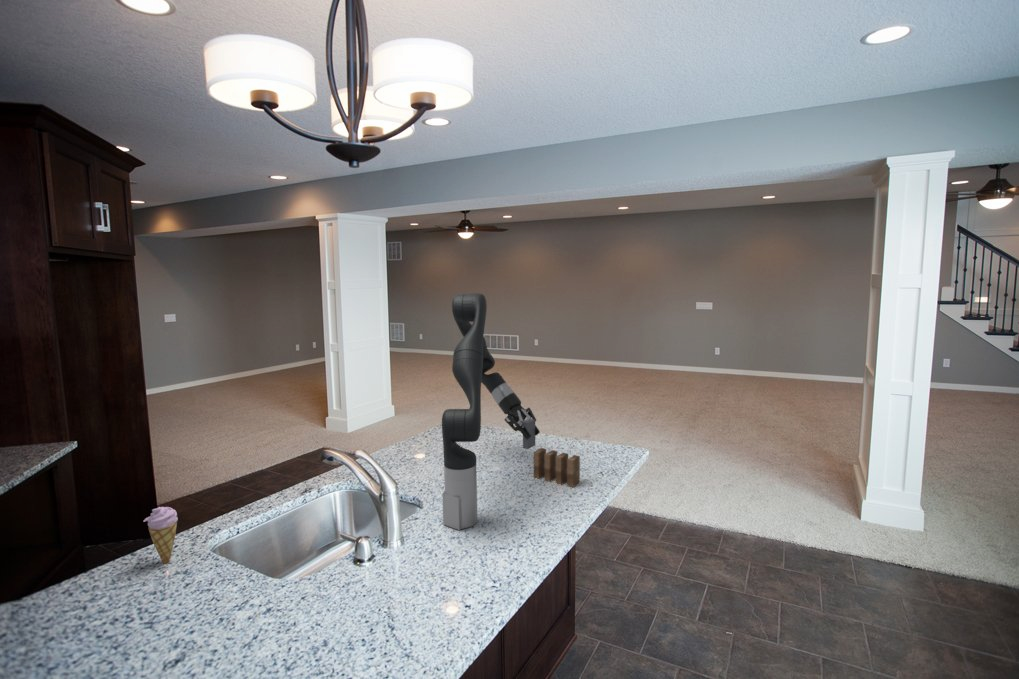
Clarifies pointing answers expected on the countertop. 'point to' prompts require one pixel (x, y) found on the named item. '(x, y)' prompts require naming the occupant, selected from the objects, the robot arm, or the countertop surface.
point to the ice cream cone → (163, 530)
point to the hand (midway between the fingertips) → (533, 435)
